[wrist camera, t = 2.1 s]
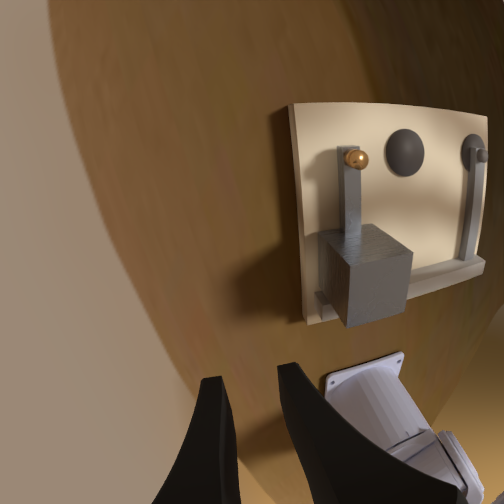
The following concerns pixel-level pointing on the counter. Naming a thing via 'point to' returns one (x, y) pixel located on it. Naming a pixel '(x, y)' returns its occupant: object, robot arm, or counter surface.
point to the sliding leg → (361, 255)
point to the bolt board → (393, 187)
